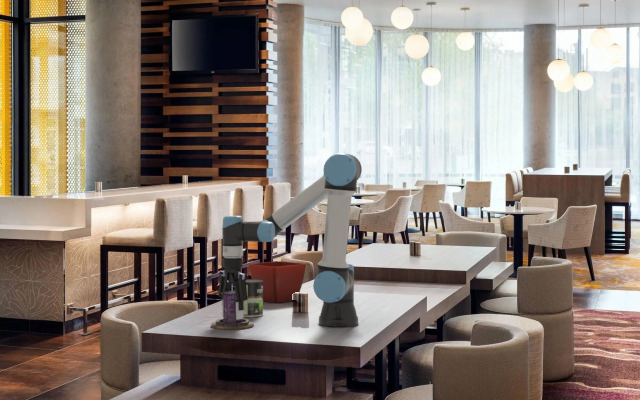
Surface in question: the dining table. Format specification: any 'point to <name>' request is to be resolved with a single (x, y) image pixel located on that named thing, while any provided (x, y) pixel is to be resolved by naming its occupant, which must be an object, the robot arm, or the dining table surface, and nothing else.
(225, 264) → the robot arm
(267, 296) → the plant pot
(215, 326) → the coaster
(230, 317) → the beverage can
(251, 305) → the coffee can
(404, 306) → the dining table surface
